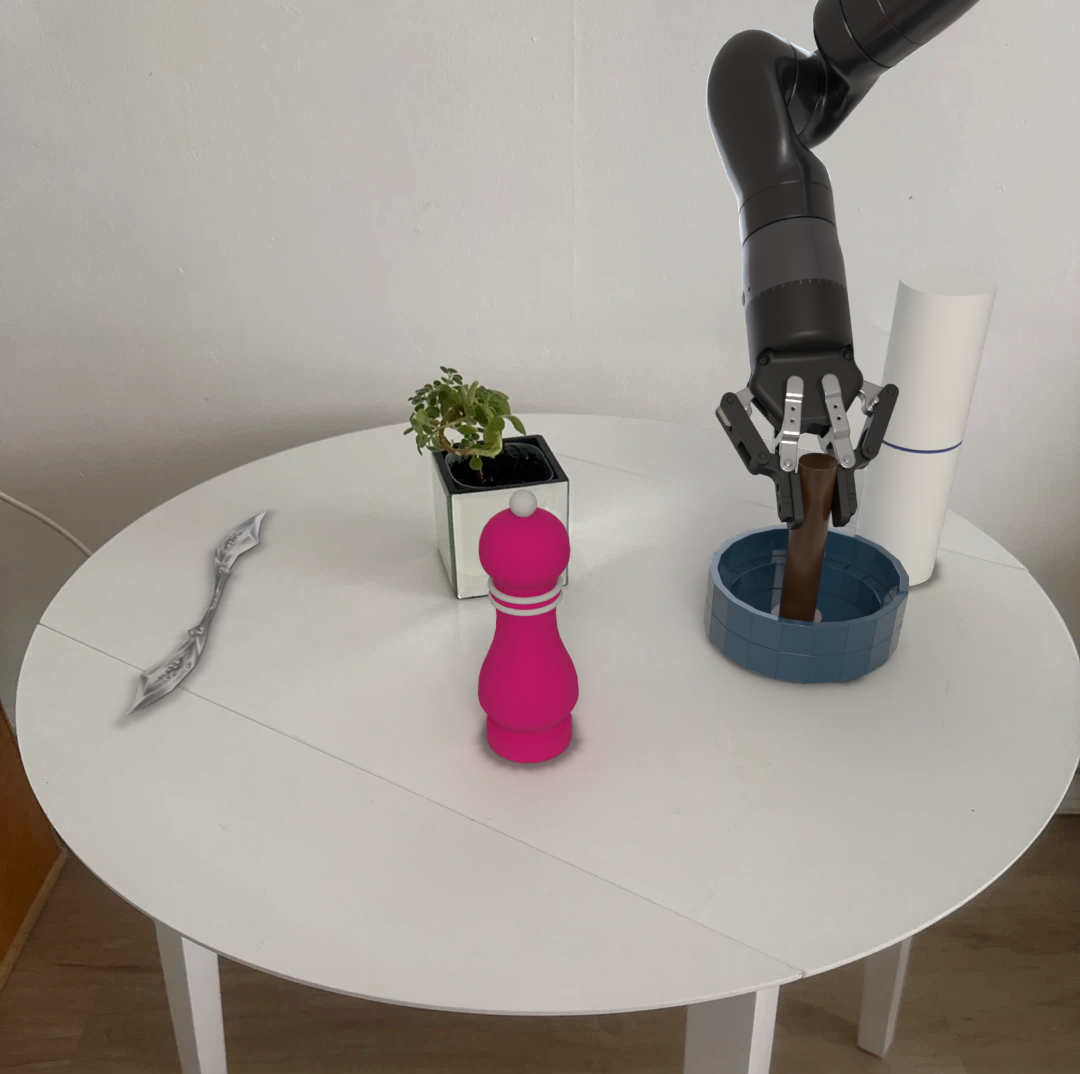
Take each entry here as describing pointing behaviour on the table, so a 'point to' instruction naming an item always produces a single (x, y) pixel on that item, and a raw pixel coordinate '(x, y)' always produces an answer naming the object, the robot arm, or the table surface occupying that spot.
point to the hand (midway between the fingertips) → (819, 524)
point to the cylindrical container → (925, 410)
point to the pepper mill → (526, 634)
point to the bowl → (843, 600)
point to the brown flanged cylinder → (808, 540)
